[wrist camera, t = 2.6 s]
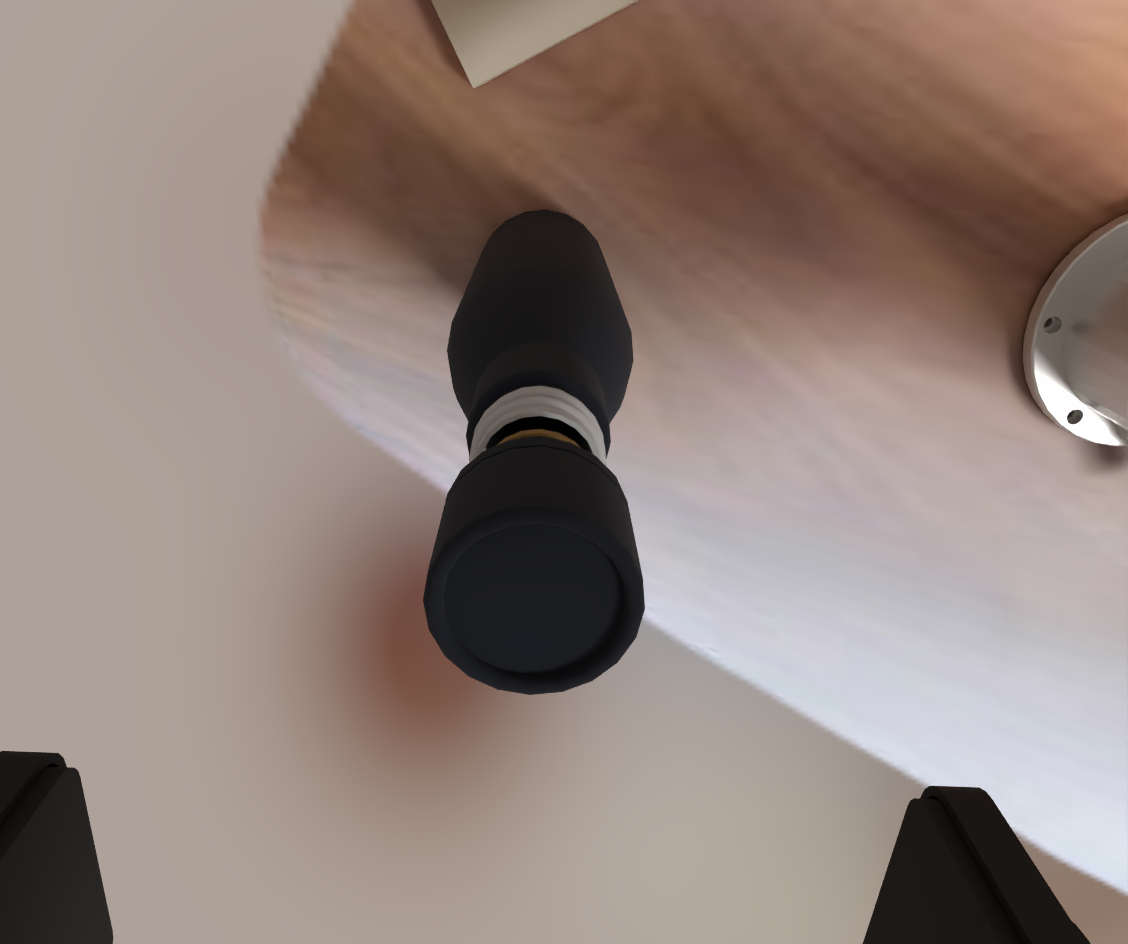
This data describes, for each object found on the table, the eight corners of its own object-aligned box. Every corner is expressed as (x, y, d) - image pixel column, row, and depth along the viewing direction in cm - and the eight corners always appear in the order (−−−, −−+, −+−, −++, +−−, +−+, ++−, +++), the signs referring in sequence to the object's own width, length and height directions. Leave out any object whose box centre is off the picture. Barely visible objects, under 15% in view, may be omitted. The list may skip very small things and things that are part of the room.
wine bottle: (589, 194, 40) (679, 391, 13) (619, 320, 43) (748, 711, 15) (462, 229, 41) (288, 490, 13) (499, 351, 43) (417, 783, 16)
